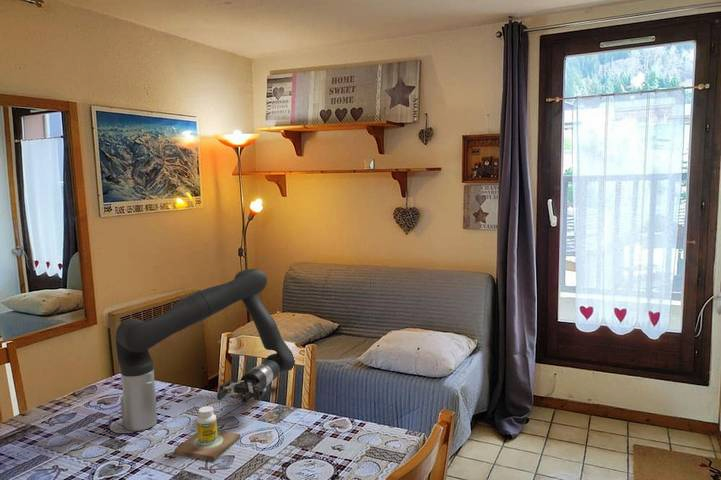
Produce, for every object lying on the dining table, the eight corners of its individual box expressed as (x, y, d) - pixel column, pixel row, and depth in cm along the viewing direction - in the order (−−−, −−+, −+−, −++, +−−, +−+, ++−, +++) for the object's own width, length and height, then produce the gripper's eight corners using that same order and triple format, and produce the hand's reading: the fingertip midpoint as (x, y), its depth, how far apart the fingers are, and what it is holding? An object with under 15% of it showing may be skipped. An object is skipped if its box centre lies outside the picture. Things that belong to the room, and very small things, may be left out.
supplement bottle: (214, 434, 154) (212, 403, 153) (220, 442, 150) (218, 409, 149) (195, 440, 151) (193, 408, 150) (201, 447, 147) (199, 415, 146)
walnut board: (174, 453, 147) (174, 449, 146) (202, 431, 159) (202, 427, 159) (214, 461, 142) (214, 456, 142) (240, 438, 154) (240, 434, 154)
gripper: (238, 366, 178) (209, 384, 163) (276, 370, 173) (250, 389, 158) (239, 387, 179) (211, 407, 163) (276, 392, 174) (251, 413, 159)
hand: (230, 398), depth 161 cm, fingers open, 8 cm apart
